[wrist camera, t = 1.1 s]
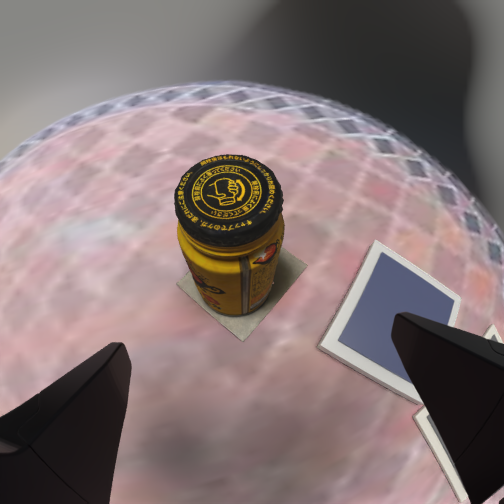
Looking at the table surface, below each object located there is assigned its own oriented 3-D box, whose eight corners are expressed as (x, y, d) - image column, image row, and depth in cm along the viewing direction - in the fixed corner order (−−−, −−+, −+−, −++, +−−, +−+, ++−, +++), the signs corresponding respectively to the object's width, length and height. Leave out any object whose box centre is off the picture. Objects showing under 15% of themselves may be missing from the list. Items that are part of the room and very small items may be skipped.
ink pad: (417, 404, 19) (427, 404, 18) (316, 347, 21) (321, 344, 20) (454, 302, 23) (463, 297, 22) (370, 245, 26) (376, 238, 24)
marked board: (459, 501, 13) (463, 503, 13) (412, 416, 19) (416, 416, 18) (527, 409, 17) (531, 409, 16) (490, 324, 22) (494, 322, 21)
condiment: (176, 284, 24) (129, 196, 13) (242, 219, 27) (243, 112, 16) (243, 342, 22) (243, 293, 11) (307, 266, 25) (350, 171, 14)
